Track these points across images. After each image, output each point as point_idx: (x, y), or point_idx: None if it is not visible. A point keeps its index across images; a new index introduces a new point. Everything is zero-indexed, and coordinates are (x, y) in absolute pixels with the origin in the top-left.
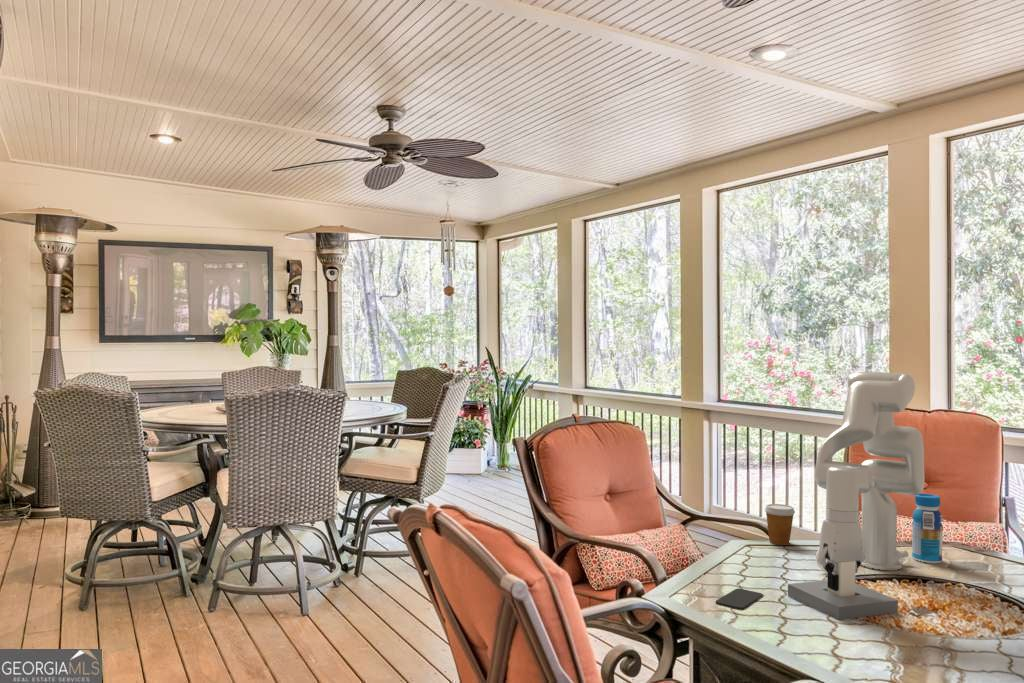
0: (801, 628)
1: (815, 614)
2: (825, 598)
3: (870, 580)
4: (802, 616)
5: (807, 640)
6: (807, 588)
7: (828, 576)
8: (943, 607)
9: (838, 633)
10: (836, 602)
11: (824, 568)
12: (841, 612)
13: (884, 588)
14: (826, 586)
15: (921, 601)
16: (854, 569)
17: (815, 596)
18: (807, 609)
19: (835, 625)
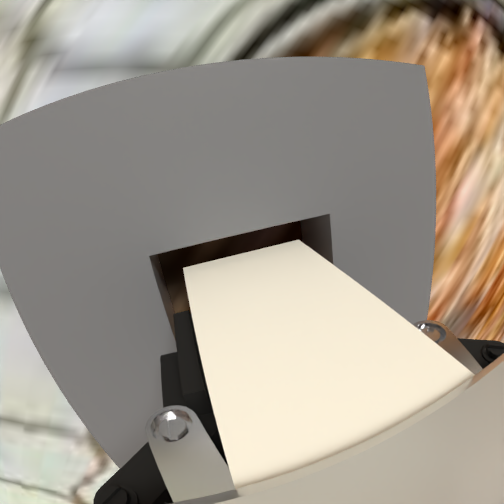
0: (7, 461)
1: (55, 397)
2: (102, 410)
3: (497, 40)
4: (9, 404)
5: (21, 496)
6: (48, 244)
7: (165, 406)
8: (500, 300)
9: (94, 493)
10: (138, 448)
11: (122, 472)
12: None
13: (500, 119)
14: (221, 197)
15: (501, 254)
16: None
17: (57, 383)
18: (35, 348)
19: (101, 466)
